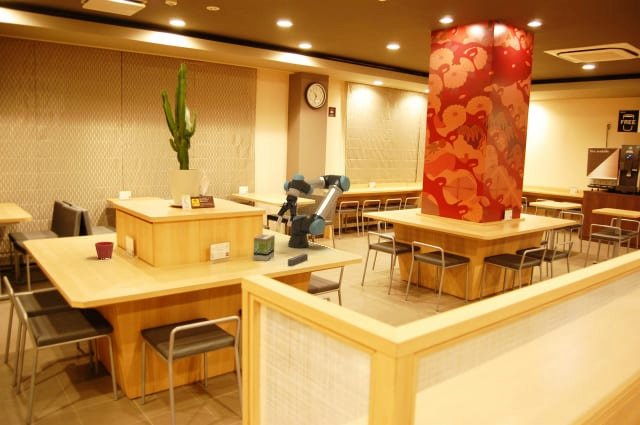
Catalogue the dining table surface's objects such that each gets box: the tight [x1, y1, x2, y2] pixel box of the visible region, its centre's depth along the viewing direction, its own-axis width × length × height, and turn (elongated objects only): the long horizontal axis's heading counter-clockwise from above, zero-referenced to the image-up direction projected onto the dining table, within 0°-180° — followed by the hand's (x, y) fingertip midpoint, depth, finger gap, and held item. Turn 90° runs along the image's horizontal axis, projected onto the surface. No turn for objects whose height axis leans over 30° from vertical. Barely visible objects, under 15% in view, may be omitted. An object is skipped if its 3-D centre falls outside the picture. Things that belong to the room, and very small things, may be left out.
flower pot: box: [94, 241, 114, 259], centre depth 320 cm, size 11×11×10 cm
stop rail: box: [287, 253, 309, 267], centre depth 320 cm, size 20×3×4 cm, turn 153°
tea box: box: [252, 234, 276, 262], centre depth 329 cm, size 15×10×15 cm, turn 168°
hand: (283, 225), depth 336 cm, fingers open, 13 cm apart
